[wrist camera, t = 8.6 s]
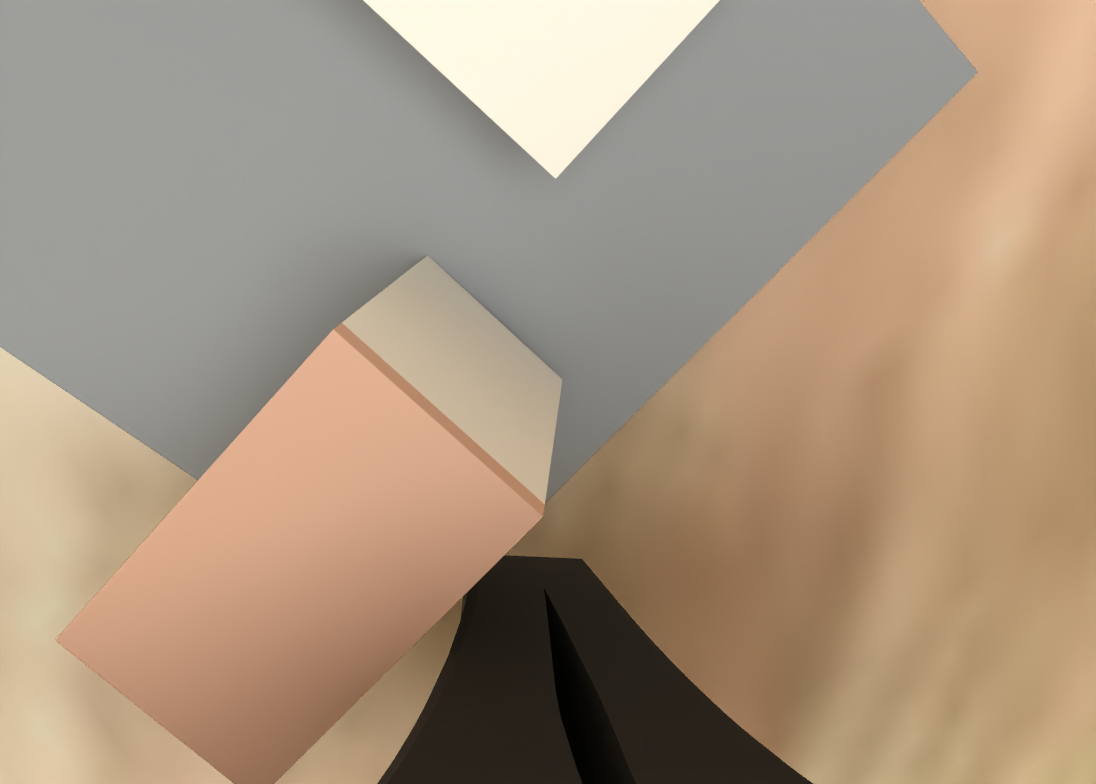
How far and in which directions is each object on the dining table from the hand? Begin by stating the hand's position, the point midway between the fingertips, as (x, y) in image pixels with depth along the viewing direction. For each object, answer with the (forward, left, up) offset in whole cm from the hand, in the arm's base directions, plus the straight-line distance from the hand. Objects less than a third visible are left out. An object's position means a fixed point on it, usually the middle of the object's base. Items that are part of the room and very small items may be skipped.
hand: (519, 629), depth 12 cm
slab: (+2, 0, -3) cm, 4 cm away
